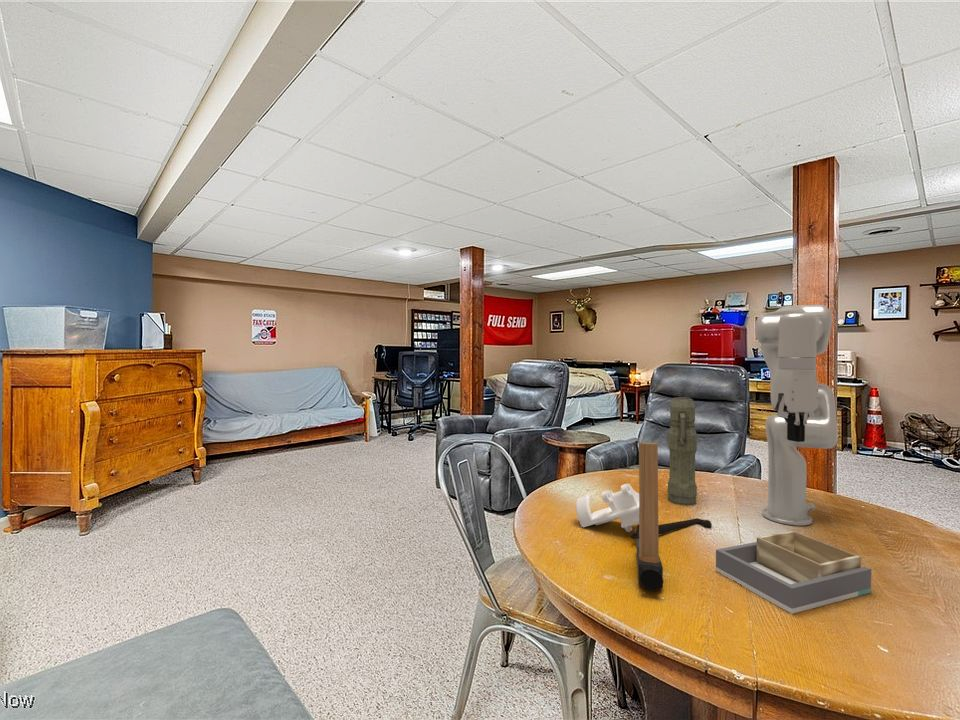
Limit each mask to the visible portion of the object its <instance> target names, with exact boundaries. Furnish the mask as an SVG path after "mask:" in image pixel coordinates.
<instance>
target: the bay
mask: <svg viewBox="0 0 960 720" xmlns="http://www.w3.org/2000/svg"><path fill="white" fill-rule="evenodd" d="M756 558H757V541H754V542H749V543H743V544H739V545H738V544H737V545H733V546H728V547H723V548H718V549H715V572H717V571H718V572H720V573H721V575H722V574H723V575H722V576H724V577H726V578H727V577H728V579H729V578H730V579H729V580H731V579H732V581H733V580H734V581H736V582H737V583H736V582H735V583H736V584H738V583H739V584H738V585H740V584H741V585H742V586H741V585H740V586H741V587H743V586H744V587H743V588H745V589H747V590H749V591H750V592H752V593H754V594H756V595H758V596H759V597H761V598H763V599H765V600H766V601H767V602H770V603H771V604H773V605H775V606H777V607H779V608H781V609H783V610H784V611H786V612H787V613H789V614H791V615H793V614H797V613H801V612H804V611H808V610H812V609H814V608H819V607H823V606H827V605H830V604H834V603H839V602H841V601H844V600H845V599H846V600H848V599H853V598H856V597H860V596H864V595H868V594H871V593H872V568H870V567H866V566H863V567H862V566H861V568H857V569H853V570H848V571H844V572H840V573H836V574H832V575H828V576H823V577H819V578H815V579H811V580H807V581H802V582H797V581H795V580H793V579H791V578H789V577H787V576H785V575H783V574H781V573H779V572H777V571H775V570H773V569H771V568H769V567H767V566H765V565H762V564H760V563H758V562H756ZM718 572H717V573H718ZM720 573H719V574H720ZM734 581H733V582H734ZM867 593H868V594H867ZM863 594H864V595H863Z"/></svg>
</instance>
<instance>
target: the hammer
mask: <svg viewBox="0 0 960 720" xmlns="http://www.w3.org/2000/svg"><path fill="white" fill-rule="evenodd" d="M658 447H659V444H658V443H656V442H643V441H642V442H640V441H639V442H638V475H639V476H638V493H639V523H638V524H639V539H635V545H636V565H637V577H638V579H637V580H638V585H640V586H643V588H645V589H647V590H648V591H654V592H655V591H658V590H660V589H661V588H662V589H663V588H664V572H663V571H664V570H663V568H664V566H663V564H662V562H661V557H660V554H659V553H660V549H659V548H660V547H659V545H660V544H659V543H660V541H659V536H660V535H658V525H659V453H658V452H659V448H658Z"/></svg>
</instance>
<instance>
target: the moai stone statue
mask: <svg viewBox="0 0 960 720" xmlns="http://www.w3.org/2000/svg"><path fill="white" fill-rule="evenodd" d="M669 407H670V408H669V409H670V410H669V411H670V412H669V413H670V414H669V417H670V419H669V420H670V423H669V429H668V432H667V437H668V438H667V441H668V442H667V446H668V447H667V448H668V451H669V478H668V481H667V494H668V498H667V500H668V501H669V503H672V504H674V505H679V506H694V505H696V504H697V495H698V486H697V483H696V453H697V451H698V434H697V430H696V426H695V422H696V406H695V402H694V399H693V398H691V397H689V396H676V397H673V398H672V400H671V403H670V406H669Z"/></svg>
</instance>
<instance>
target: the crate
mask: <svg viewBox="0 0 960 720" xmlns="http://www.w3.org/2000/svg"><path fill="white" fill-rule="evenodd" d="M756 542H757V558H756V562H758V563H760V564H762V565H765V566H767V567H769V568H771V569H773V570H775V571H777V572H779V573H781V574H783V575H785V576H787V577H789V578H791V579H793V580H795V581H797V582H802V581H807V580H811V579H815V578H819V577H823V576H828V575H832V574H836V573H840V572H844V571H848V570H853V569H857V568H861V567H862V565H861V564H862V563H861V562H862V561H861V560H862V555H861V556H860V555H858V554H855V553H853V552H850V551H848V550H844V549H842V548H840V547H838V546H835V545H831V544H829V543H826V542H824V541H822V540H819V539H817V538H814V537H811V536H808V535H806V534H803V533H801V532H798V531H795V530H790V531H783V532H779V533H774V534H768V535H763V536H758V537H756Z"/></svg>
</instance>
